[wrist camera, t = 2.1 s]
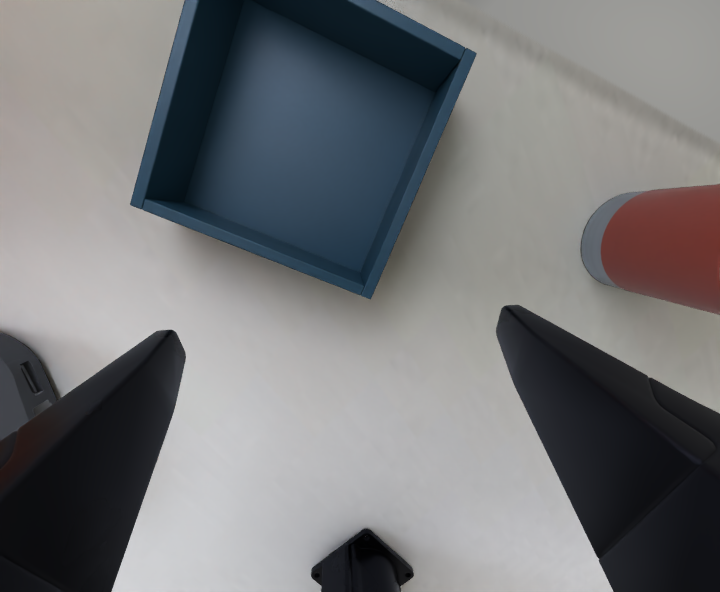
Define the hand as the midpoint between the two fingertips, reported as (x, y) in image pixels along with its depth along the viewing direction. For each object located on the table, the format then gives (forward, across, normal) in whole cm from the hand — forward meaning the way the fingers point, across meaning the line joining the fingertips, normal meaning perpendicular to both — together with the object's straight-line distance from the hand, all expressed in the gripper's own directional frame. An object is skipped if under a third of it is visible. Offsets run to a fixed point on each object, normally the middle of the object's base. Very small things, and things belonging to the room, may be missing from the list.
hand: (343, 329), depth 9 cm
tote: (+16, +2, -1) cm, 16 cm away
